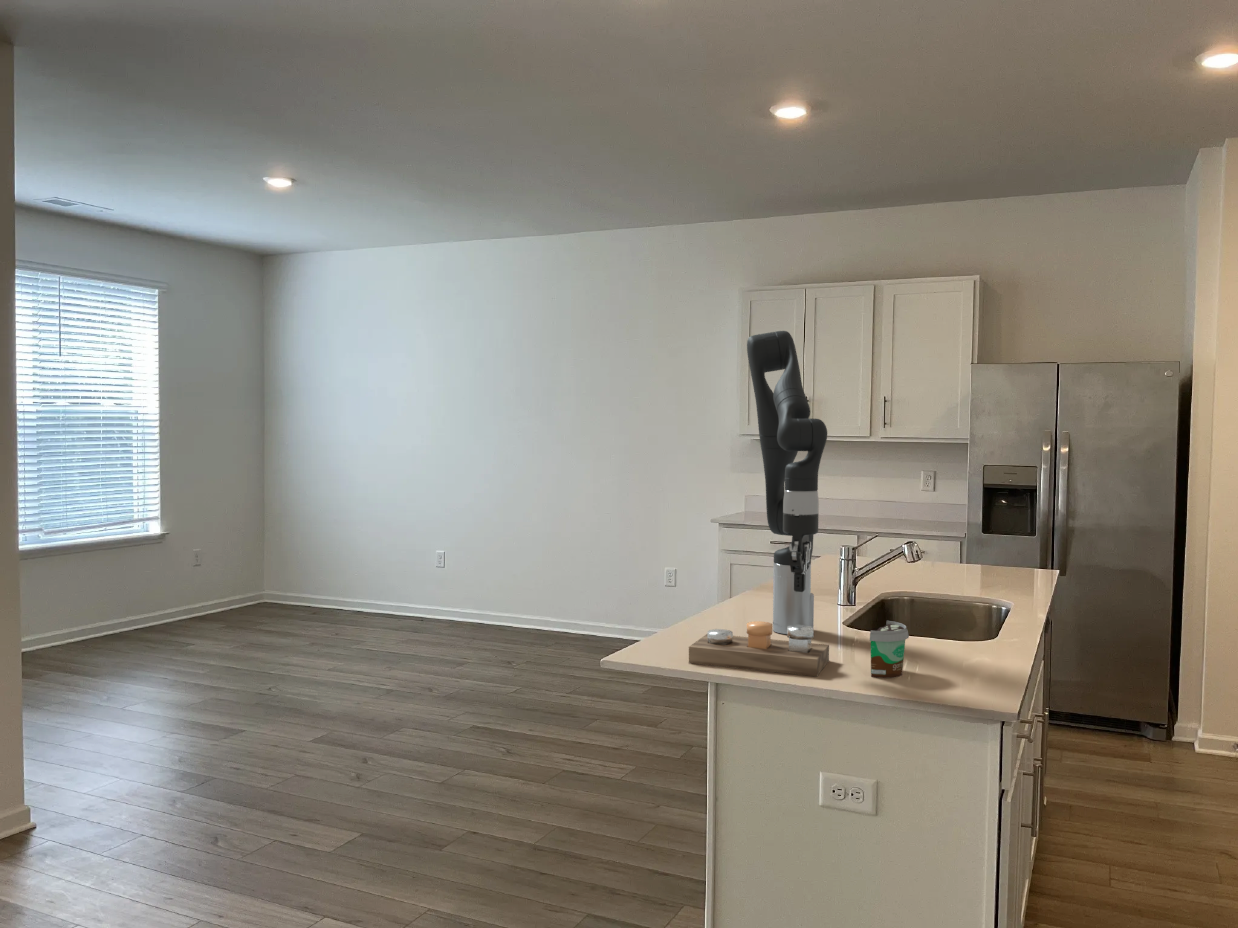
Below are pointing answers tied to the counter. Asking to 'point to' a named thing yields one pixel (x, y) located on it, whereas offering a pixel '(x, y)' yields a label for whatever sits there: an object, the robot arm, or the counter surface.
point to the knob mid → (759, 634)
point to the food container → (888, 650)
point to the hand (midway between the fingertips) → (799, 591)
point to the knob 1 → (720, 636)
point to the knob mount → (760, 656)
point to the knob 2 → (800, 638)
